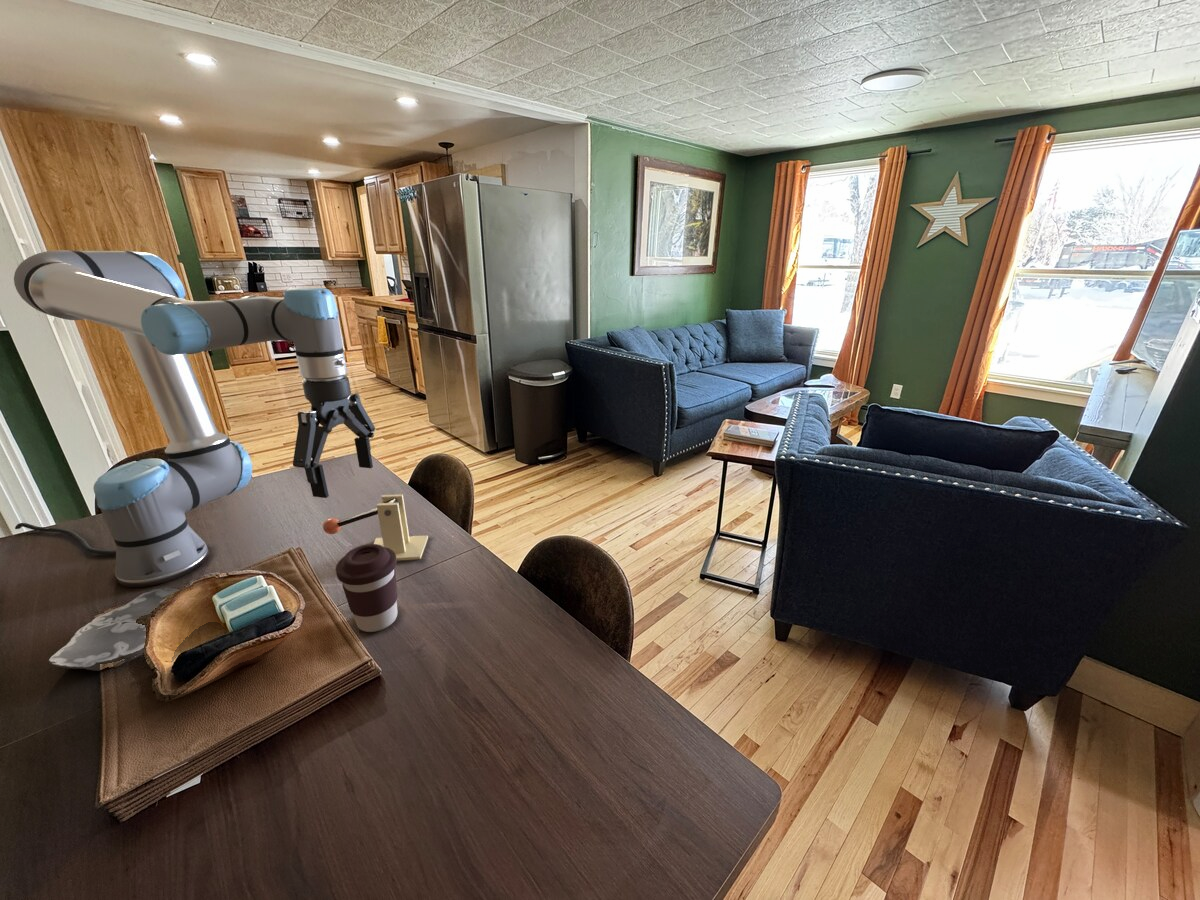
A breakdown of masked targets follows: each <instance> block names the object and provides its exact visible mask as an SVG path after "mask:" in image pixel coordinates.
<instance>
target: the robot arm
mask: <svg viewBox="0 0 1200 900" xmlns="http://www.w3.org/2000/svg"><path fill="white" fill-rule="evenodd" d="M13 283H14V288H15V289H16V292H17V293H18V295H19V297H20V298H21V299H22V300H23V301H24V302H25V303H26V304H27V305H29V306H30V307H32V308H33V309H35V310H36V311H38V312H40V313H42V314H45V315H48V316H50V317H55V318H57V319H61V320H68V321H82V320H87V321H90V322H94V323H97V324H101V325H105V326H108V327H110V328H113V329H115V330H117V331H119V332H120V333H121V334H122V336H123V339H124V342H125V344H126V345H127V348H128V350H129V353H130V354H131V357H132V359H133V361H134V364H135V366H136V368H137V370H138V373H139V375H140V377H141V379H142V383H143V384H144V386H145V388H146V391H147V393H148V395H149V398H150V399H151V401H152V404H153V406H154V410H155V411H156V413H157V416H158V418H159V420H160V422H161V425H162V427H163V429H164V431H165V433H166V436H167V438H168V441H169V443H168V445H167V446H166V448H165V449H164V453H165V456H166V457H167V460H166V461H165V460H163V459H161V458H153V457H152V458H144V459H143V458H142V459H140V460H138V461H136V460H134V461H131V462H127V463H124V464H121V465H118V466H115V467H114V468H111V469H110V470H108V471H105V472H104V473H102V474H101V475H100V476H99V477H98V478H97V480H96V481H95V482H94V483H93V488H92V489H93V493H94V495H95V499H96V506H97V507H98V508H99V509H100V512H101V513H102V516H103V518H104V520H105V522H106V524H107V527H108V530H109V532H110V534H111V537H112V538H113V541H114V543H115V546H116V550H108V549H107V550H106V549H98V548H94V547H92V546H91V545H89V543H88V542H87V541H86V539H85V538H83V537H82V536H80V534H79V533H77V532H75V531H74V530H69V529H66V528H61V527H60V528H59V527H45V526H37V525H34V524H31V523H27V522H20V523H17V524H16V525H15V527H14V529H15V530H20V529H21V528H26V529H29V530H33V531H37V530H39V531H38V532H48V533H49V532H51V533H62V534H66V535H68V536H70V537H72V538H73V539H75V540H76V541H77V542H79V543H80V545H81V546H82V548H83V549H84V550H85V551H87V552H89V553H92V554H97V555H107V556H109V555H110V556H111V555H112V556H115V563H114V575H115V576H114V577H116V580H117V583H118V584H120V586H123V587H126V588H147V587H151V586H156V585H161V584H164V583H167V582H171V581H173V580H176V579H178V578H181V577H183V576H186V575H187V574H190V573H191V572H193V571H195V570H196V569H198V568H199V567H201V566H202V565H203V564H204V563H205V562H206V561H207V560H208V558H209V557H210V551H209V548H208V545H207V543H206V542H205V541H204V540H203V539H202V538H201V537H200V536H199V535H198V534H197V533H196V532H195V530H193V528H192V527H191V526H190V525H189V523H188V519H187V517H186V513H187V512H189V511H192V510H194V509H197V508H199V507H202V506H204V505H206V504H208V503H211V502H214V501H216V500H218V499H220V498H222V497H225V496H230V495H232V494H233V493H235V492H237V491H238V490H240V489H243V488H245V487H246V486H247V485H248V484H249V483H250V480H251V479H252V476H253V463H252V460H251V457H250V454H249V453H248V450H246V449H244V446H243V445H242V444H240V442H237V441H234V440H230V437H229V436H228V435H227V434H225V433H223V432H220V431H219V430H218V429H217V426H216V423H215V421H214V419H213V416H212V413H211V412H210V408H209V407H208V404H207V402H206V399H205V397H204V394H203V392H202V389H201V387H200V384H199V381H198V380H197V377H196V374H195V372H194V370H193V367H192V364H191V361H190V360H189V357H188V355H196V354H198V353H202V352H203V353H204V352H209V351H216V350H220V349H226V348H233V347H238V346H247V345H252V344H259V343H264V342H273V341H280V342H281V341H282V342H283V341H284V342H292V343H293V346H294V351H295V352H294V353H295V356H296V362H297V366H298V371H299V376H300V377H301V378H303V379H302V381H301V384H302V389H303V394H304V398H305V399H306V400H307V401H308V402H309V403H310V410H308V411H301V410H300V411H298V412H297V415H296V416H297V423H298V426H297V432H296V438H295V439H296V440H295V446H294V453H293V459H292V466H293V467H294V468H300V469H304V471H305V476H306V480H307V483H309V484H310V488H311V489H310V490H311V494H312V497H314V498H323V499H327V498H328V497H329V496H330V495H329V490H328V486H327V480H326V477H325V476H326V475H325V472H324V468H323V467H324V466H323V464H320V460H321V458H322V457H321V456H322V454H323V451H324V448H325V445H326V441H327V439H328V435H329V434H330V433H332V432H333V429H334V428H335V427H336V428H337V427H338V425H342V424H343V425H344V426H345V427H346V428H348V429H349V430H350V431H351V432H352V434H354V435H355V436H356V437H355V438H354V439H353V440H354V445H355V451H356V456H357V462H358V467H359V468H363V469H372V468H374V464H373V459H372V453H371V448H372V447H371V442H370V438H371V439H373V438H374V436H375V433H374V432H375V431H376V426H375V425H374V422H373V421H372V420H371V418H370V416H369V414H368V412H367V411H366V409H365V407H364V406H363V404H362V402H361V401H362V400H361V397H360V394H358V393H354V392H353V393H352V390H351V385H350V379H349V377H348V376H347V373H348V369H347V364H346V359H345V354H344V352H345V351H344V344H343V340H342V339H343V338H342V334H341V327H340V321H339V311H338V309H337V305H336V301H335V297H334V295H333V292H332V291H331V290H330V289H328V288H325V287H289V288H286V289H284V290H283V298H282V297H273V296H267V295H262V294H260V295H245V296H242V297H240V298H233V299H232V298H231V299H218V300H199V301H198V300H189V299H186V298H185V297H186V290H185V288H184V285H183V282H182V280H181V278H180V277H179V275H178V274H177V272H176V271H175V270H174V268H173V267H172V266H171V265H170V264H169V263H167V262H166V261H165V260H163V259H162V258H161V257H159V256H157V255H155V254H153V253H150V252H142V251H131V250H67V249H55V250H47V251H42V252H38V253H35V254H32V255H31V256H29V257H27V258H25V259H23V260H22V261H21V262H20V263H19V264H18V265H17V267H16V269H15V271H14V276H13ZM44 528H49V529H44Z"/></svg>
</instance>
